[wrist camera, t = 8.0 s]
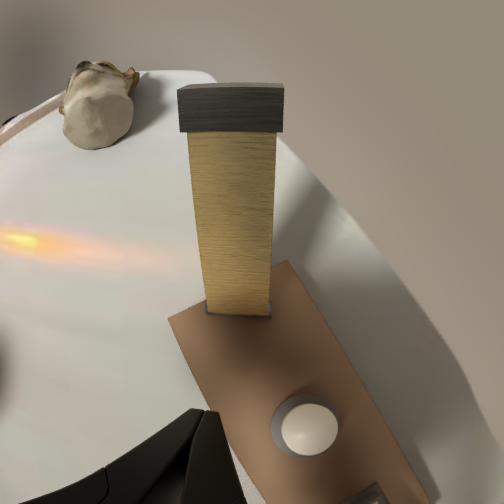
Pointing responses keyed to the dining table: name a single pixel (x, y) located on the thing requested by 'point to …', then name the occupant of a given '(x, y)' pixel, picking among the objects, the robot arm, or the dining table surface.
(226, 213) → the tan capped bar
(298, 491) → the switch panel
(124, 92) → the ceramic sculpture
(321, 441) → the push button
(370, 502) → the rocker switch
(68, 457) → the dining table surface
